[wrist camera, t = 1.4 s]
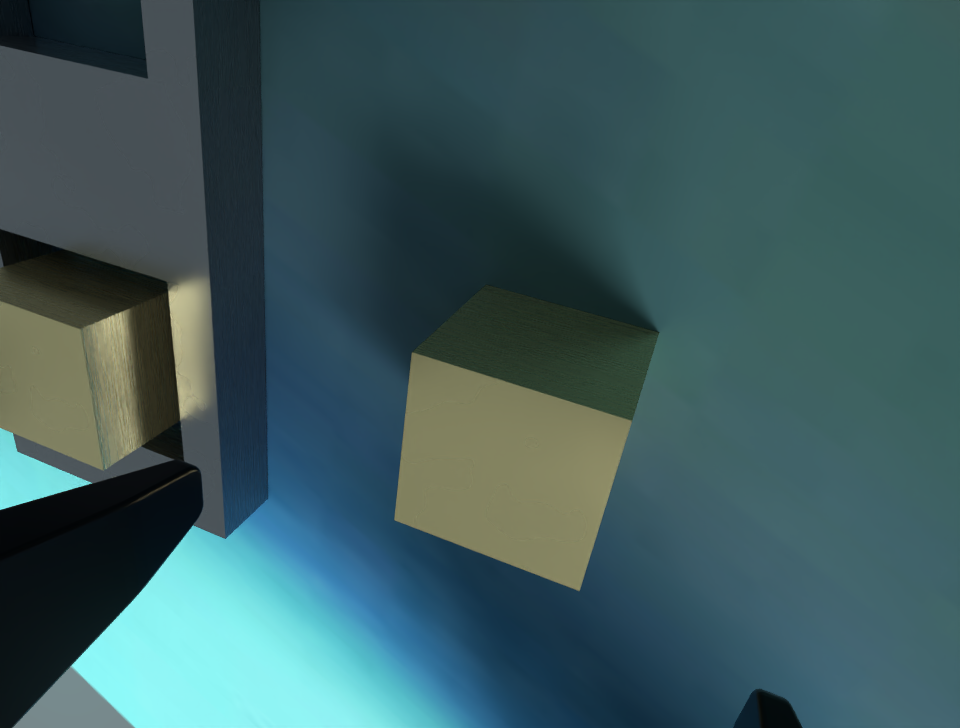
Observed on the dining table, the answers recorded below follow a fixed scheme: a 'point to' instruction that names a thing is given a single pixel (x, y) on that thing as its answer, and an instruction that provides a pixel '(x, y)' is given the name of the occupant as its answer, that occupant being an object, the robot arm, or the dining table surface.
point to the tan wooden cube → (85, 356)
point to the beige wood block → (519, 429)
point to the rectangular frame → (155, 213)
